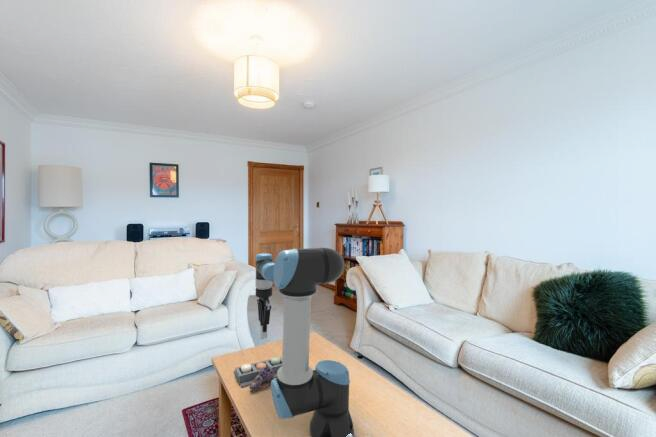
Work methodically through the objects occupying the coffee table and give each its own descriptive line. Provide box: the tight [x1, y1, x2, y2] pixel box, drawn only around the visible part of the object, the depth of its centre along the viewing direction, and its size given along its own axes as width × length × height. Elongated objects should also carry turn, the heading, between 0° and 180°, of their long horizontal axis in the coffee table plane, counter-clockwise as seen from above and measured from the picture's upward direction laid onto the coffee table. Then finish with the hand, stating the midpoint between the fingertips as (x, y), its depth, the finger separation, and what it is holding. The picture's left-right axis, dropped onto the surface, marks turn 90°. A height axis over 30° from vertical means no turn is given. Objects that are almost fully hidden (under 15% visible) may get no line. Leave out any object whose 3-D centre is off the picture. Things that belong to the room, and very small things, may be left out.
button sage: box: [270, 356, 280, 366], centre depth 145 cm, size 4×4×2 cm
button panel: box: [233, 356, 282, 389], centre depth 141 cm, size 14×22×4 cm, turn 120°
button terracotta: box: [256, 363, 266, 370], centre depth 141 cm, size 4×4×2 cm
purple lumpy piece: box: [248, 367, 275, 393], centre depth 131 cm, size 12×8×6 cm, turn 138°
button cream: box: [240, 363, 251, 374], centre depth 138 cm, size 4×4×2 cm
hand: (263, 337), depth 141 cm, fingers closed
